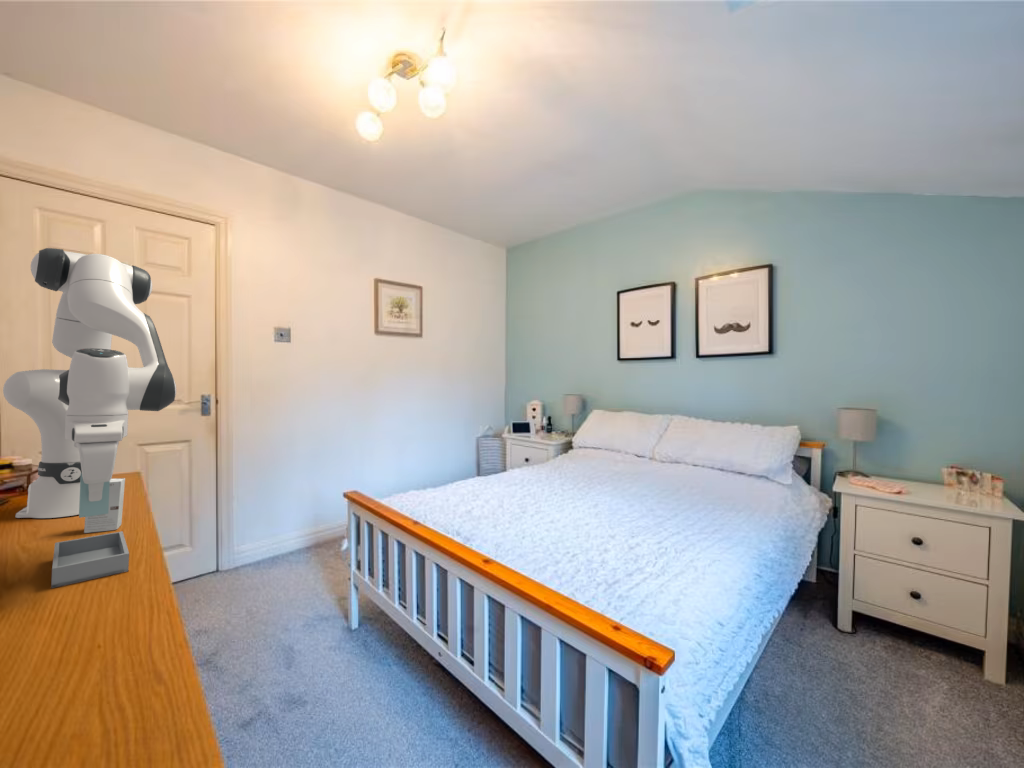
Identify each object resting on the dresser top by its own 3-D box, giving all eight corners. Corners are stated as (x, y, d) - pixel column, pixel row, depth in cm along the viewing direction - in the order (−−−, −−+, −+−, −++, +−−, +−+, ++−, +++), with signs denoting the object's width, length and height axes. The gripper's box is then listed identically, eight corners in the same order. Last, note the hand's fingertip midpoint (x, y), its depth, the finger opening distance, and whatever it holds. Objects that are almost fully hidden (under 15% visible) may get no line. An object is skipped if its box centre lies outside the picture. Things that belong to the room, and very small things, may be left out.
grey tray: (54, 559, 83) (55, 542, 83) (121, 546, 90) (122, 531, 90) (51, 588, 72) (52, 568, 72) (128, 571, 79) (129, 553, 79)
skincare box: (83, 534, 96) (85, 483, 97) (89, 528, 100) (91, 479, 100) (118, 529, 100) (120, 481, 100) (123, 524, 104) (125, 477, 104)
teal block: (79, 512, 81) (80, 473, 81) (107, 508, 84) (108, 470, 84) (79, 517, 78) (80, 476, 78) (108, 513, 81) (109, 473, 81)
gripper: (74, 425, 86) (71, 490, 86) (74, 435, 72) (71, 512, 72) (115, 423, 91) (113, 485, 91) (123, 432, 77) (120, 505, 77)
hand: (94, 497), depth 81 cm, fingers closed on teal block, 4 cm apart
